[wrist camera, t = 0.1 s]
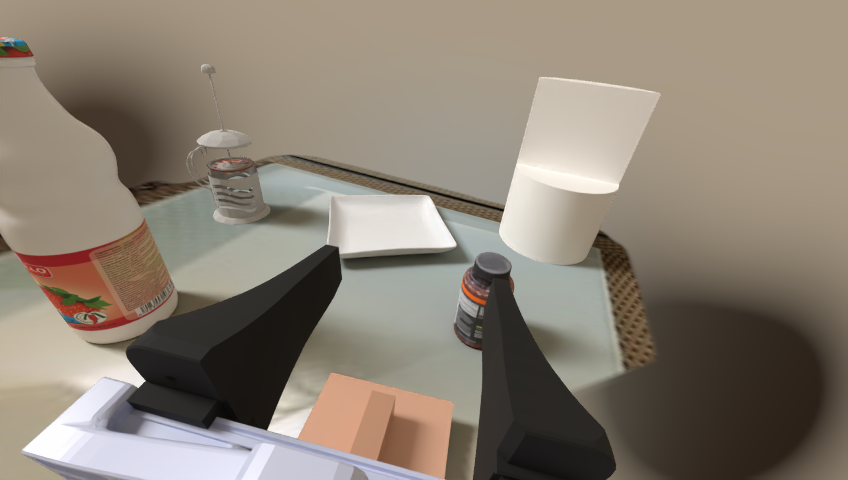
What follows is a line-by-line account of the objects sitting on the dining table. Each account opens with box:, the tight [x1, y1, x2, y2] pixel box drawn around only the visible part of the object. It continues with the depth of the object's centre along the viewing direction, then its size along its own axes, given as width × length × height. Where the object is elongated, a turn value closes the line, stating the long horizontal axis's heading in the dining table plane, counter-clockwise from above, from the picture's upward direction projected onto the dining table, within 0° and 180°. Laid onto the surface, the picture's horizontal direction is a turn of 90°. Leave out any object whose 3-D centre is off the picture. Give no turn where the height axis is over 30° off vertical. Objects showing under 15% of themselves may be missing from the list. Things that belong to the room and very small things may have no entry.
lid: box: [297, 372, 453, 479], centre depth 23 cm, size 13×12×4 cm
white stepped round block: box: [499, 77, 661, 265], centre depth 55 cm, size 17×17×28 cm
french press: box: [186, 64, 270, 225], centre depth 53 cm, size 10×12×25 cm
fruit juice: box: [0, 37, 178, 344], centre depth 30 cm, size 9×9×28 cm
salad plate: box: [327, 195, 457, 258], centre depth 58 cm, size 21×21×3 cm
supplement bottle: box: [454, 252, 514, 348], centre depth 37 cm, size 6×6×11 cm
